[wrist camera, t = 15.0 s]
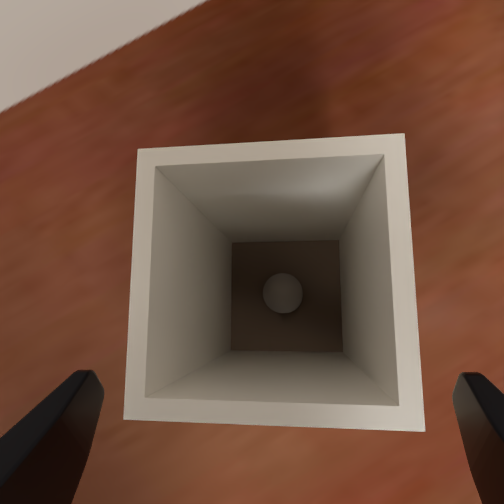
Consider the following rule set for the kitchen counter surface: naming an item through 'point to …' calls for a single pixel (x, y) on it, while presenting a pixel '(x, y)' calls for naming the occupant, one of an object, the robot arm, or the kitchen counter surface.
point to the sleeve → (220, 273)
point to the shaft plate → (286, 296)
